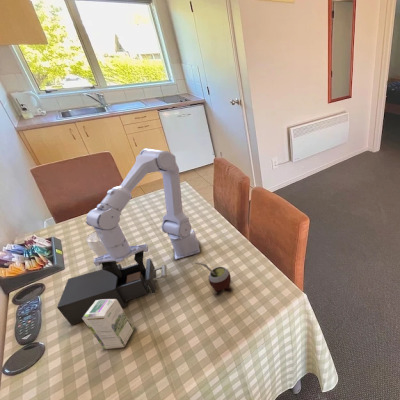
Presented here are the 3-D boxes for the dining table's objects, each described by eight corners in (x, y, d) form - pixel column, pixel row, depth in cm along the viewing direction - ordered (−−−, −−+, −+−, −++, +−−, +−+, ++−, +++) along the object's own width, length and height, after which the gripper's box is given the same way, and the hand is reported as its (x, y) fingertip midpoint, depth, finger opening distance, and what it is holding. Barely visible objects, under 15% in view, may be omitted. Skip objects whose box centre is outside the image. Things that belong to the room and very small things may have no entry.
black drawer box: (129, 280, 98) (119, 263, 94) (125, 306, 89) (115, 288, 84) (80, 296, 93) (68, 278, 88) (71, 325, 83) (56, 307, 78)
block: (144, 279, 96) (140, 271, 94) (143, 287, 93) (139, 278, 91) (131, 283, 95) (127, 275, 92) (130, 291, 91) (125, 283, 89)
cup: (112, 267, 104) (98, 243, 98) (93, 264, 106) (78, 240, 100) (130, 252, 112) (119, 229, 106) (112, 249, 114) (100, 226, 107)
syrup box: (115, 331, 81) (94, 299, 74) (135, 329, 81) (116, 297, 74) (104, 349, 76) (79, 317, 69) (125, 347, 76) (103, 315, 69)
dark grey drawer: (169, 267, 103) (163, 254, 99) (169, 288, 94) (163, 274, 90) (114, 284, 96) (106, 271, 92) (109, 308, 87) (100, 294, 83)
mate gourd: (236, 283, 96) (228, 252, 89) (223, 300, 90) (213, 268, 82) (219, 278, 98) (210, 247, 91) (205, 294, 92) (194, 263, 84)
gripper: (84, 257, 78) (104, 289, 85) (140, 242, 84) (155, 272, 91) (89, 243, 83) (107, 274, 90) (142, 230, 89) (155, 260, 96)
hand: (131, 272), depth 91 cm, fingers open, 6 cm apart
